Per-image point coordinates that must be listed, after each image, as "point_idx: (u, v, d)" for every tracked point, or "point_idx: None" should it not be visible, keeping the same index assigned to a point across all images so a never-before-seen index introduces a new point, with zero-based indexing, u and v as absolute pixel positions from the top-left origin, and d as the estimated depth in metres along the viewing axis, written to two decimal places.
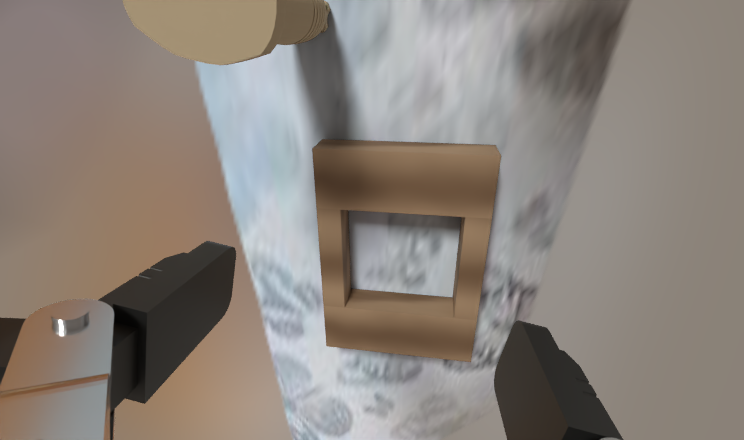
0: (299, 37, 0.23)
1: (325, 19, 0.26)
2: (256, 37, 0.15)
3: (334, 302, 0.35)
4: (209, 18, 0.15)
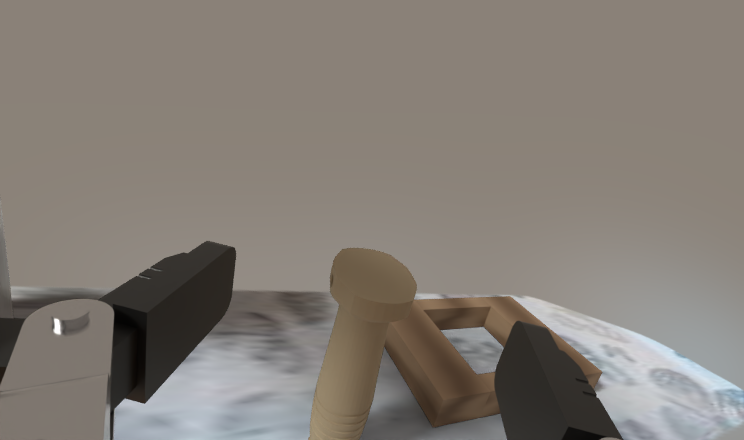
0: None
1: None
2: (382, 255, 0.25)
3: None
4: (384, 269, 0.23)
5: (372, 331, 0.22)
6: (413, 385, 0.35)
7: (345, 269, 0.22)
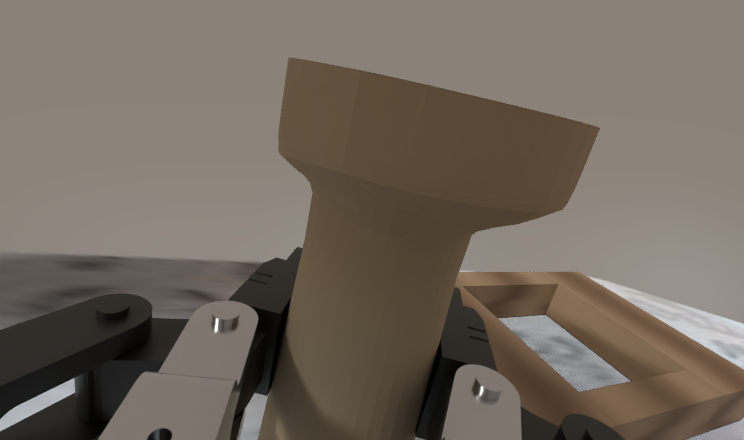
0: None
1: None
2: None
3: (700, 381, 0.22)
4: None
5: (419, 274, 0.07)
6: None
7: None
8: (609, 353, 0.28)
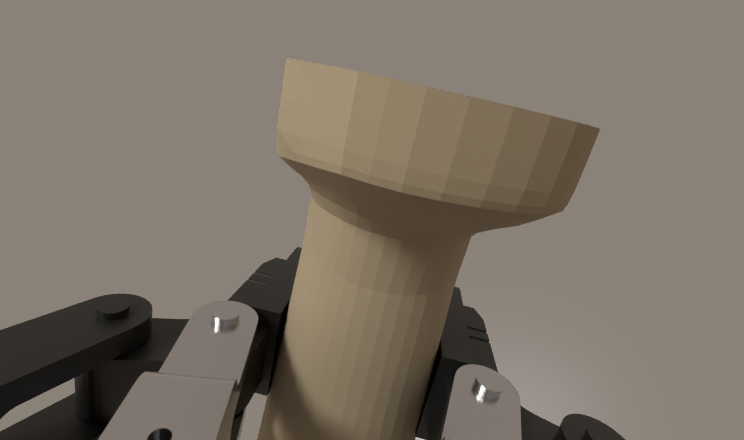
0: None
1: None
2: None
3: None
4: None
5: (418, 276, 0.06)
6: None
7: None
8: None
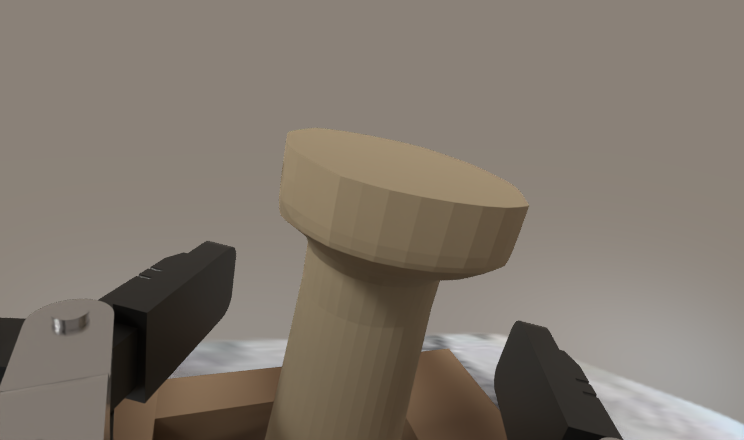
0: None
1: None
2: (408, 146, 0.11)
3: None
4: (419, 158, 0.09)
5: (395, 313, 0.08)
6: None
7: (317, 143, 0.08)
8: None
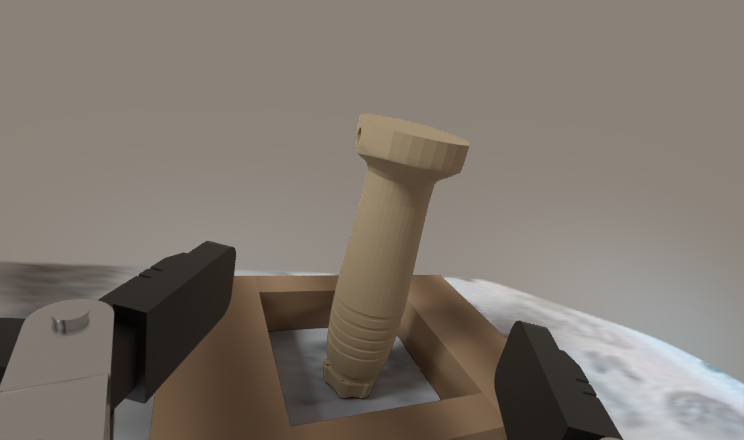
0: None
1: None
2: (417, 124, 0.20)
3: (486, 408, 0.19)
4: (424, 129, 0.18)
5: (411, 199, 0.17)
6: None
7: (376, 120, 0.17)
8: (429, 369, 0.24)
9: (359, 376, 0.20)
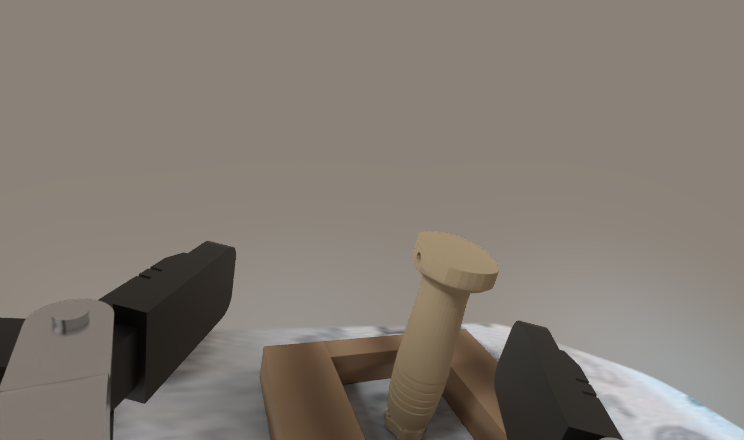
0: None
1: None
2: (455, 237, 0.27)
3: None
4: (462, 248, 0.25)
5: (457, 303, 0.24)
6: None
7: (430, 247, 0.24)
8: (464, 415, 0.31)
9: (415, 426, 0.27)
